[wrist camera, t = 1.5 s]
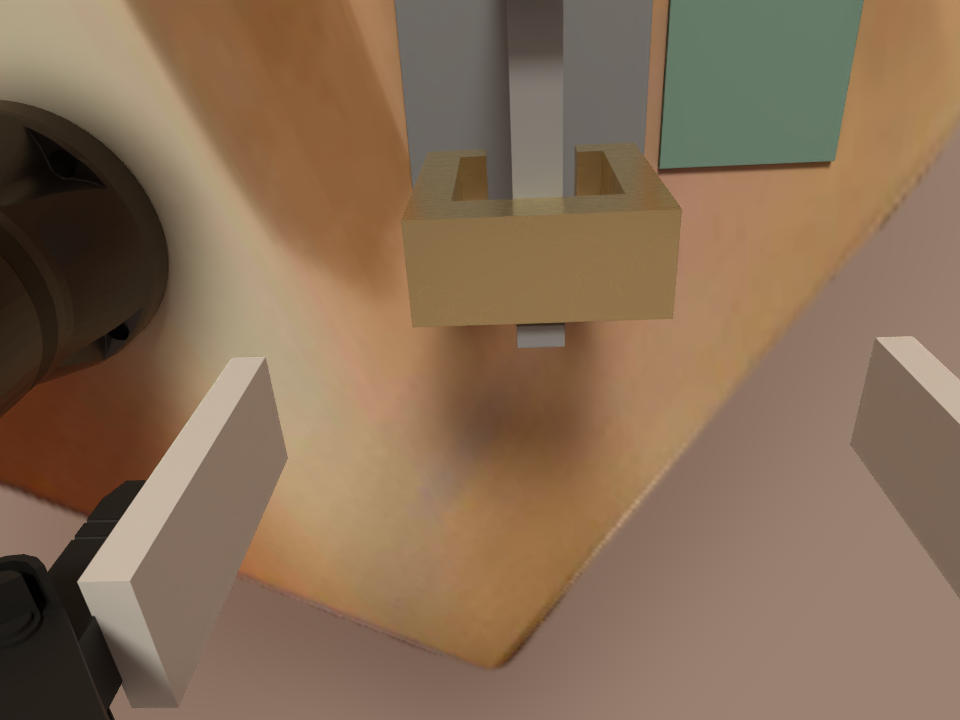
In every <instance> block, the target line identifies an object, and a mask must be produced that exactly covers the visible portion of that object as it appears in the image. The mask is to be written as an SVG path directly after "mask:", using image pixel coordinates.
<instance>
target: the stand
mask: <svg viewBox="0 0 960 720" xmlns="http://www.w3.org/2000/svg"><path fill="white" fill-rule="evenodd" d="M652 5H653V0H395V9H396V19H397V29H398V40H399V50H400V61H401V71H402V81H403V92H404V102H405V112H406V123H407V133H408V143H409V154H410V164H411V175H412V185H413V189H414V187H415V184H416V181H417V179H418V176H419V174H420V171H421V169H422V166H423V163H424V161H425V158H426V156H427V153H428V152H435V151H457V150H479V149H486V152H487V173H488V195H489V200H499V199H523V198H546V197H570V196H574V168H575V145H589V144H611V143H632V142H634V143H635V144H636V146H637V147H638V148H639V150H640V151H641V153H642V154H643V155H644V147H645V130H646V112H647V94H648V76H649V59H650V41H651V23H652ZM564 346H565V323H564V322H560V323H530V324H517V348H533V347H564Z"/></svg>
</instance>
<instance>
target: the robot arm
mask: <svg viewBox="0 0 960 720" xmlns="http://www.w3.org/2000/svg"><path fill="white" fill-rule="evenodd" d="M167 275H168V256H167V248H166V242H165V238H164V234H163V230H162V227H161V224H160V221H159V219H158V216H157V214H156V212H155V209H154V207H153V205H152V203H151V201H150V200H149V198H148V196H147V194H146V193H145V191H144V189H143V188H142V186H141V185H140V183H139V182H138V181H137V179H136V178H135V176H134V175H133V174H132V173H131V172H130V170H129V169H128V168H127V167H126V166H125V165H124V163H123V162H122V161H121V160H120V159H119V158H118V157H117V156H116V155H115V154H114V153H113V152H112V151H111V150H109V149H108V148H107V147H106V146H105V145H104V144H103V143H101V142H100V141H99V140H97V139H96V138H95V137H93V136H92V135H91V134H89V133H88V132H86V131H85V130H83V129H82V128H80V127H79V126H77V125H75V124H73V123H72V122H70V121H68V120H66V119H64V118H62V117H60V116H58V115H55V114H53V113H51V112H48V111H46V110H43V109H40V108H37V107H34V106H30V105H27V104H22V103H17V102H11V101H3V100H0V418H1V417H2V416H3V415H4V414H5V413H6V412H7V411H8V410H9V409H10V408H12V407H13V406H14V405H15V404H16V403H17V402H18V401H19V400H20V399H21V398H22V397H23V396H24V395H25V394H26V393H27V392H29V391H30V390H31V389H32V388H33V387H34V386H35V385H37V384H40V383H43V382H46V381H49V380H52V379H55V378H58V377H61V376H64V375H67V374H70V373H73V372H76V371H79V370H82V369H85V368H88V367H91V366H93V365H96V364H99V363H101V362H103V361H105V360H107V359H108V358H110V357H112V356H113V355H115V354H116V353H118V352H119V351H121V350H122V349H123V348H125V347H126V346H127V345H128V344H129V343H130V342H131V341H132V340H133V339H134V338H135V337H136V336H137V335H138V334H139V333H140V332H141V331H142V330H143V329H144V328H145V327H146V325H147V324H148V323H149V322H150V321H151V319H152V318H153V316H154V315H155V313H156V312H157V310H158V308H159V306H160V304H161V301H162V298H163V296H164V292H165V288H166V283H167ZM850 445H851V446H852V448H853V449H854V450H855V452H856V453H857V455H858V456H859V457H860V459H861V460H862V462H863V463H864V464H865V465H866V467H867V469H868V470H869V471H870V473H871V474H872V476H873V477H874V479H875V480H876V481H877V483H878V484H879V485H880V487H881V488H882V490H883V491H884V493H885V494H886V495H887V497H888V498H889V500H890V501H891V502H892V504H893V505H894V506H895V508H896V509H897V511H898V512H899V514H900V515H901V517H902V518H903V519H904V521H905V522H906V524H907V525H908V526H909V528H910V529H911V531H912V532H913V533H914V535H915V536H916V538H917V539H918V541H919V542H920V543H921V545H922V546H923V547H924V549H925V550H926V552H927V553H928V555H929V556H930V557H931V559H932V560H933V561H934V563H935V564H936V566H937V567H938V569H939V570H940V572H941V573H942V574H943V576H944V577H945V579H946V580H947V581H948V583H949V584H950V586H951V587H952V588H953V590H954V591H955V592H956V594H957V595H958V597H959V598H960V380H959V379H958V378H957V377H956V376H955V375H953V374H952V373H951V372H950V371H949V370H948V369H947V368H946V367H945V366H944V365H943V364H942V363H941V362H940V361H939V360H937V359H936V358H935V357H934V356H933V355H932V354H931V353H930V352H929V351H928V350H927V349H926V348H925V347H923V346H922V345H921V344H920V343H919V342H918V341H917V340H916V339H915V338H914V337H912V336H909V337H878V338H875V341H874V345H873V350H872V354H871V358H870V362H869V367H868V371H867V375H866V380H865V384H864V389H863V393H862V397H861V401H860V405H859V409H858V414H857V418H856V422H855V427H854V431H853V435H852V439H851V444H850ZM287 459H288V457H287V452H286V448H285V443H284V439H283V434H282V430H281V425H280V421H279V416H278V411H277V407H276V402H275V398H274V393H273V389H272V384H271V380H270V375H269V370H268V366H267V361H266V357H241V358H231V359H230V361H229V362H228V364H227V365H226V367H225V368H224V369H223V371H222V372H221V374H220V375H219V377H218V378H217V380H216V381H215V382H214V384H213V385H212V387H211V388H210V390H209V391H208V393H207V394H206V396H205V397H204V398H203V400H202V401H201V403H200V404H199V406H198V407H197V409H196V410H195V412H194V413H193V414H192V416H191V417H190V419H189V420H188V422H187V423H186V425H185V426H184V427H183V429H182V430H181V432H180V433H179V435H178V436H177V438H176V439H175V441H174V442H173V443H172V445H171V446H170V448H169V449H168V451H167V452H166V454H165V455H164V457H163V458H162V459H161V461H160V462H159V464H158V465H157V467H156V468H155V470H154V471H153V472H152V474H151V475H150V477H149V478H148V480H139V481H126V482H124V483H123V484H122V485H120V486H119V487H118V488H116V489H115V490H114V491H112V492H111V493H110V494H108V495H107V496H106V497H104V498H103V499H102V500H101V501H100V503H99V504H98V505H97V507H96V508H95V509H94V511H93V512H92V513H91V515H90V516H89V517H88V519H87V523H84V524H83V525H82V527H81V528H80V530H79V531H78V532H77V534H76V535H75V540H71V542H70V543H69V544H68V546H67V547H66V548H65V550H64V551H63V552H62V554H61V555H60V556H59V558H58V559H57V560H56V562H55V563H54V564H53V566H52V567H51V568H50V570H49V571H48V572H47V570H46V568H45V565H44V564H43V563H42V562H41V561H40V560H39V559H38V558H37V557H33V556H29V555H25V554H22V555H11V556H4V557H1V558H0V720H115V719H114V717H113V714H112V712H111V710H110V708H109V706H110V704H111V702H112V701H113V699H114V697H115V695H116V693H117V691H118V689H119V687H120V686H121V684H122V686H123V689H124V691H125V693H126V695H127V698H128V700H129V702H130V705H131V707H132V708H163V707H164V708H166V707H167V708H170V707H171V708H172V707H179V705H180V703H181V701H182V698H183V696H184V694H185V692H186V689H187V687H188V685H189V682H190V680H191V678H192V675H193V673H194V671H195V669H196V667H197V664H198V662H199V659H200V657H201V655H202V653H203V651H204V648H205V646H206V644H207V641H208V639H209V637H210V634H211V632H212V630H213V628H214V625H215V623H216V621H217V618H218V616H219V614H220V612H221V609H222V607H223V605H224V603H225V600H226V598H227V595H228V593H229V591H230V589H231V587H232V584H233V582H234V580H235V577H236V575H237V573H238V571H239V568H240V566H241V564H242V561H243V559H244V557H245V555H246V552H247V550H248V548H249V545H250V543H251V541H252V539H253V536H254V534H255V532H256V529H257V527H258V525H259V523H260V520H261V518H262V516H263V513H264V511H265V509H266V507H267V504H268V502H269V500H270V497H271V495H272V493H273V491H274V488H275V486H276V484H277V481H278V479H279V477H280V475H281V472H282V470H283V468H284V465H285V463H286V461H287Z"/></svg>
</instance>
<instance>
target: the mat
mask: <svg viewBox="0 0 960 720" xmlns="http://www.w3.org/2000/svg"><path fill="white" fill-rule="evenodd" d="M863 1H864V0H669V12H668V27H667V42H666V57H665V72H664V87H663V102H662V118H661V133H660V148H659V163H658V167H659V168H660V169H663V168H686V167H709V166H731V165H754V164H777V163H800V162H823V161H835V156H836V150H837V145H838V139H839V134H840V128H841V123H842V117H843V112H844V106H845V101H846V95H847V90H848V84H849V79H850V73H851V68H852V62H853V57H854V51H855V46H856V40H857V35H858V29H859V24H860V18H861V13H862V7H863Z"/></svg>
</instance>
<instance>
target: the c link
mask: <svg viewBox="0 0 960 720" xmlns="http://www.w3.org/2000/svg"><path fill="white" fill-rule="evenodd" d="M681 214H682V209H681V207H680V206H679V204H678V203H677V202H676V200H675V199H674V197H673V196H672V195H671V193H670V192H669V190H668V189H667V188H666V186H665V185H664V183H663V182H662V181H661V179H660V178H659V176H658V175H657V174H656V172H655V171H654V169H653V168H652V167H651V165H650V164H649V162H648V161H647V160H646V158H645V157H644V155H643V154H642V153H641V151H640V150H639V148H638V147H637V146H636V144H635V143H634V142H632V143H611V144H589V145H575V168H574V196H570V197H546V198H523V199H499V200H489V195H488V173H487V152H486V149H479V150H457V151H435V152H428V153H427V156H426V158H425V161H424V163H423V166H422V169H421V171H420V174H419V176H418V179H417V181H416V184H415V187H414V189H413V192H412V194H411V197H410V199H409V202H408V205H407V207H406V210H405V212H404V215H403V217H402V220H401V224H402V233H403V242H404V252H405V261H406V271H407V280H408V289H409V299H410V308H411V318H412V327H441V326H471V325H500V324H530V323H560V322H589V321H619V320H648V319H673V310H674V298H675V286H676V274H677V262H678V250H679V238H680V226H681Z"/></svg>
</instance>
